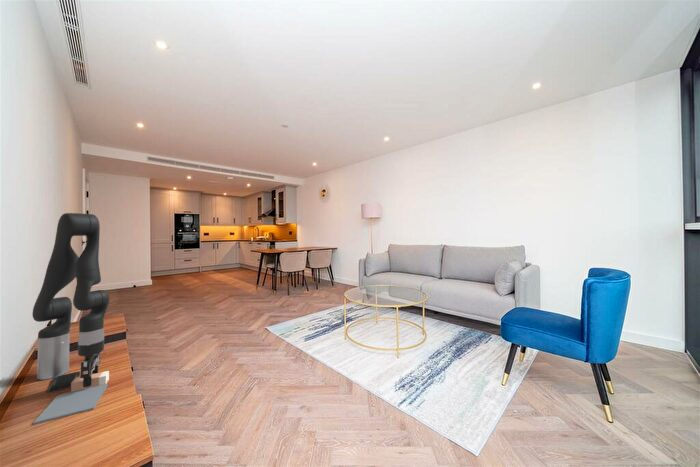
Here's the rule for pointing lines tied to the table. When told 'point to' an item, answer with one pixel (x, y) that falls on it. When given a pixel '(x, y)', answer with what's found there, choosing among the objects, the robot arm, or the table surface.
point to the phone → (62, 382)
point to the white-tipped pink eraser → (96, 381)
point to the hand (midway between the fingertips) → (90, 381)
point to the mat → (72, 403)
